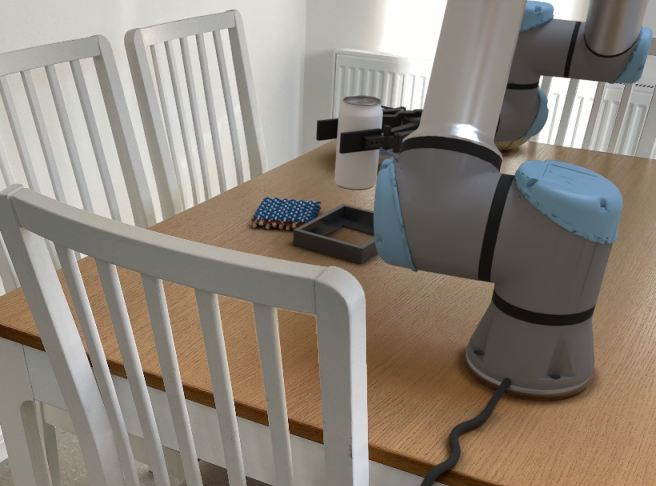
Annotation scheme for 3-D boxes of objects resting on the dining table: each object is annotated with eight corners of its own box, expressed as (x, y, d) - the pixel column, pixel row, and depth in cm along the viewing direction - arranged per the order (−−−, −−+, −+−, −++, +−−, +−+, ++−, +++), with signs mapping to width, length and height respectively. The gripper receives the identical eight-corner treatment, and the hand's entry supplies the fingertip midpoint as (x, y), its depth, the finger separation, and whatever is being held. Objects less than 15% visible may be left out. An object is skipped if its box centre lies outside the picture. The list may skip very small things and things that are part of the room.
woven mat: (261, 206, 144) (261, 194, 143) (321, 211, 143) (322, 199, 141) (249, 228, 136) (249, 215, 135) (312, 233, 135) (313, 221, 133)
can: (325, 183, 127) (330, 98, 120) (353, 174, 131) (360, 92, 123) (356, 194, 124) (363, 107, 116) (384, 185, 127) (393, 100, 120)
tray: (361, 264, 125) (362, 248, 124) (292, 244, 131) (293, 229, 129) (407, 234, 135) (409, 220, 133) (342, 217, 140) (343, 203, 139)
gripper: (491, 164, 125) (360, 182, 117) (420, 131, 138) (298, 146, 130) (501, 110, 120) (365, 126, 112) (426, 81, 133) (300, 94, 125)
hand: (329, 136), depth 121 cm, fingers closed on can, 6 cm apart
